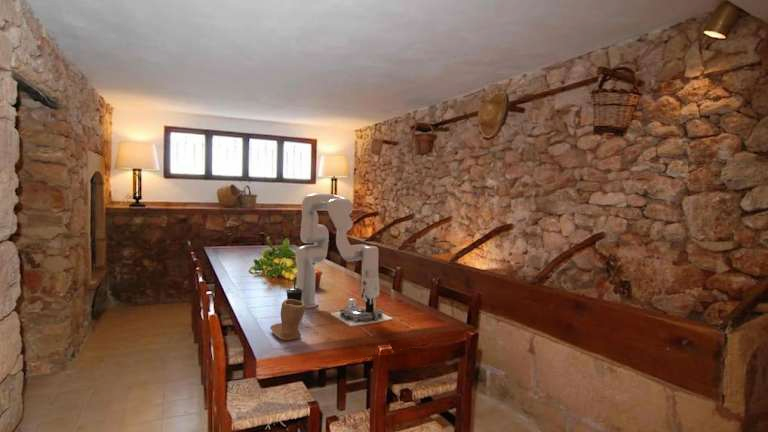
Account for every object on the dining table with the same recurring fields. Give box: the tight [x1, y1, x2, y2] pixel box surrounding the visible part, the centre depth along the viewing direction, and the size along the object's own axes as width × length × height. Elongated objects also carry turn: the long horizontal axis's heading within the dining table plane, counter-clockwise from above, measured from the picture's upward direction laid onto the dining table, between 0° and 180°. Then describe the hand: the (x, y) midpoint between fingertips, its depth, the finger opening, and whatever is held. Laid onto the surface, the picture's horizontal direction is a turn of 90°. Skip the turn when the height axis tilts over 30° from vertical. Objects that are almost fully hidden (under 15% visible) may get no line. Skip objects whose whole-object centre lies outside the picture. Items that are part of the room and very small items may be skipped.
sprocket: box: [339, 299, 384, 322], centre depth 205 cm, size 21×21×9 cm
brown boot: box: [270, 298, 306, 341], centre depth 175 cm, size 15×12×15 cm
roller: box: [347, 297, 357, 307], centre depth 219 cm, size 4×4×5 cm
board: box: [330, 311, 394, 328], centre depth 205 cm, size 23×21×1 cm
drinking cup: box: [286, 276, 303, 301], centre depth 198 cm, size 8×8×20 cm
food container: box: [295, 268, 323, 291], centre depth 262 cm, size 16×16×11 cm
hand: (369, 312), depth 196 cm, fingers closed
